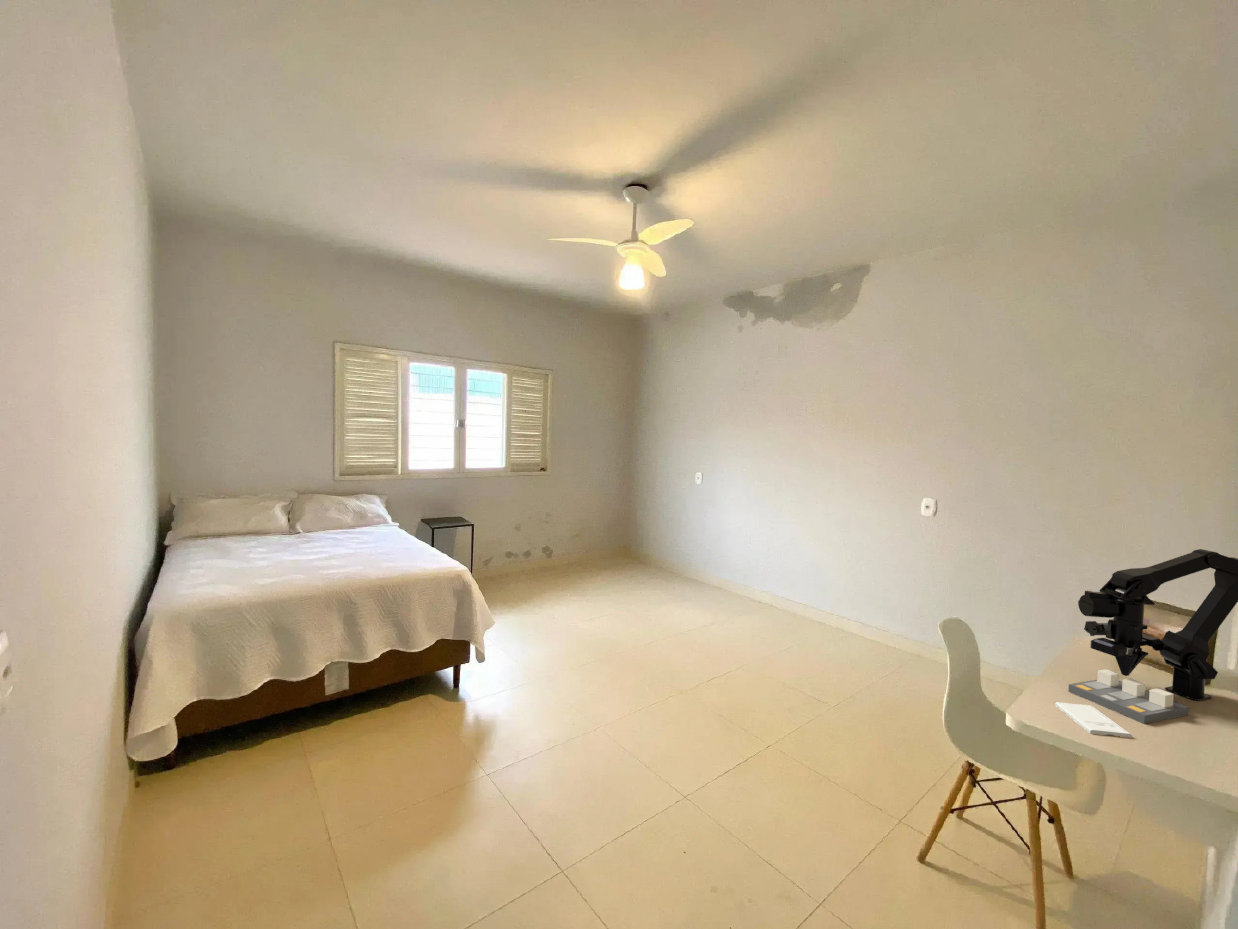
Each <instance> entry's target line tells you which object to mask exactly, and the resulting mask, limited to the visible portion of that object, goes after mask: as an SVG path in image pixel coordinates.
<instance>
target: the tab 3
mask: <svg viewBox="0 0 1238 929" xmlns="http://www.w3.org/2000/svg"><path fill="white" fill-rule="evenodd" d="M1149 692H1150V693H1149V702H1151V703H1154V704H1157V705H1159V706H1162V707H1164V708H1165V707H1171V706H1173V701H1174V694H1175V693H1173V692H1170V691H1167V690H1165V689H1160V688H1153V689H1149Z"/></svg>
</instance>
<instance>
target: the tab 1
mask: <svg viewBox="0 0 1238 929" xmlns="http://www.w3.org/2000/svg"><path fill="white" fill-rule="evenodd" d="M1096 677H1097V678H1096V680H1097V681H1098V682H1100V683H1103V684H1105V685H1108V686H1116V685H1118V682H1119V681H1120V680H1119V678H1120V673H1117V672H1113V671H1111V670H1109V669H1106V668H1105V669H1100V670H1097V676H1096Z"/></svg>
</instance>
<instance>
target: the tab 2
mask: <svg viewBox="0 0 1238 929" xmlns="http://www.w3.org/2000/svg"><path fill="white" fill-rule="evenodd" d="M1145 690H1146V683H1144V682H1141V681H1139V680H1136V679H1133V678H1125V679H1122V691H1123V692H1126V693H1128V694H1131V695H1133V696H1136V697H1137V696H1143V695H1145Z"/></svg>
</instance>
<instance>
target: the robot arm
mask: <svg viewBox="0 0 1238 929" xmlns="http://www.w3.org/2000/svg"><path fill="white" fill-rule="evenodd" d="M1207 569H1213V570H1215V571H1214V573H1213V577H1214V578H1213V579H1214V585H1213V588H1212V589H1211V590H1210V592H1209V593H1208V594H1207V595H1206V597H1205V599H1204V600H1203V601H1202V602H1201V604H1200V605H1199V607H1198V608H1197V610H1196V611H1195V612H1194V614H1193V615H1192V616H1191V618H1190V619H1189V620H1188V621H1187V623H1186V624H1185V626H1184V627H1183V628H1182V629H1180V630H1178V631H1176V632H1173V631H1172V630H1167V631H1166V632H1165V634H1164V636H1163V638H1162V639H1160V638H1159V637H1154V636H1151V635H1148V634H1144V630H1148V625H1147V624H1144V621H1145V620H1144V618H1145V615H1144V614H1145V605H1147V606H1155V603H1156V602H1155V601H1153V600H1152V599H1150V598H1149V594H1152V593H1154V592H1155V591H1157V590H1158V589H1159V588H1160V586H1161V585H1163V584H1165V583H1168V582H1171V581H1175V580H1177V579H1179V578H1183V577H1186V576H1188V575H1189V576H1190V575H1192V574H1195V573H1199V572H1201V571H1204V570H1207ZM1077 602H1078V603H1077V605H1078V608H1079V611H1080V613H1081V614H1082V615H1083V616H1085V617H1091V618H1108V619H1109V620H1107V622H1097V621H1096V620H1093V621H1092V620H1088V621H1087V620H1086V621H1085V624H1084V628H1083V629H1084V631H1085V632H1086V633H1088V634H1089V636H1090V637H1094V636H1105V637H1097V638H1093V639H1092V640H1090V644H1089V645H1090V649H1092V650H1094V651H1097V652H1101V653H1104V654H1107V655H1110V656H1112V657H1114V658H1115V659H1116V663H1117V666H1118V668H1119V672H1120V673H1121V675H1123V676H1125V677H1127V676H1130V674H1132V673H1133V671H1134V669H1136V667H1138V665H1139V664H1140V663H1141V662H1142V661H1143V659H1145V657H1146V656H1148V655H1149V652H1146V651H1143V648H1142V647H1144V646H1148V647H1151V648H1152V650H1154V651H1155V652H1157V651H1158V652H1159V654H1160V656H1161V657H1162V658H1163V660H1164V663H1165V665H1168V666H1169V667H1172V668H1173V669H1172V685H1171V686H1165V687H1164V691H1167V692H1169V693H1172V694H1176V695H1179V696H1182V697H1185V698H1188V699H1190V700H1193V701H1197V702H1198V701H1203V700H1208V699H1212V698H1213V696H1212V695H1210V694H1207V693H1205V691H1206V690H1205V688H1206V681H1208V680H1215V679H1216V678H1217V675H1218V673H1219V672H1218V671H1217V670H1216V669H1215V668H1214V667H1213V666H1212V665H1211V663H1209V662H1208V661H1207V660H1208V658H1209V656H1210V648H1209V646H1210V645H1209V643H1210V642H1209V641H1210V640H1211V639H1212V637H1213V636H1214V634H1216V632H1217V631H1218V629H1219V628H1220V626H1221V625H1222V624H1223V623H1224V621H1225V620H1226V618H1227V617H1228V616H1229V614H1230V613H1231V612H1232V611H1233V609H1234V608H1235V606H1236V605H1237V604H1238V557H1229V556H1226V555H1224V554H1220V553H1219V552H1216V551H1211V550H1208V549H1202V548H1199V549H1195V550H1192V551H1191V552H1189V553H1186V554H1183V555H1180V556H1176V557H1175V558H1171V559H1168V560H1165V561H1163V562H1159V563H1157V564H1154V565H1151V566H1148V567H1147V566H1146V567H1138V568H1137V567H1136V568H1135V567H1134V568H1131V567H1130V568H1127V569H1121V570H1117V571H1115V572H1113V573H1112V574H1111V577H1110V579H1109V580H1108V581H1106V582H1105V584H1103V586H1102V587H1101V588H1100V589H1099V590H1098V591H1091V590H1084V594H1083V595H1081V596H1080V597H1079V599H1078V601H1077Z"/></svg>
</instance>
